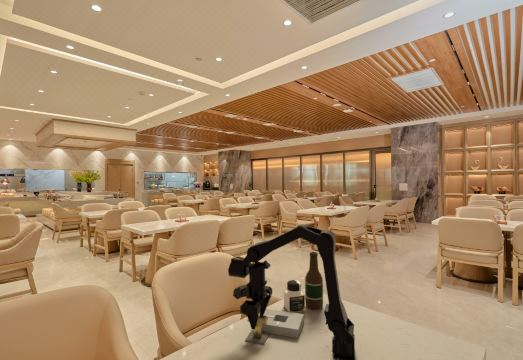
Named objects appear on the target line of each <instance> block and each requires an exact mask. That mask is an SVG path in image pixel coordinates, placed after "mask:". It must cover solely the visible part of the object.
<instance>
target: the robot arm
mask: <svg viewBox="0 0 523 360" xmlns="http://www.w3.org/2000/svg"><path fill="white" fill-rule="evenodd" d="M299 239H302V240H304V241H306V242H308V243H309V244H311V245H315V246H316V248H317V253H318V255H319V256H320V258H321V260H322V265H323V273H324V280H325V286H326V293H327V300H328V303H325V307H324V310H323V315H324V317H325V325H327V328H328V330H329V331H330V332H331V333H332V334H333V336H332V341H331V351H332V354H333V359H336V360H356V348H355V347H356V346H355V340H356V338H355V334H354V333H355V323H353V321H351V319H349V318H348V314H347V311H346V308H345V305H344V303H343V301H342V298H341V291H340V286H339V284H340V283H339V279H338V271H337V264H336V257H335V256H336V243H337V242H336V234H335V232H333V231H332V230H330V229H323V230H322V229H320V228H316V227H314V226H313V227H312V226H310V225H309V226H308V225H306V224H303V223H302V224H298V225H297V226H296V227H294V228H292V229H290V230H287V231H286V232H284V233H281V234H279V235H278V236H276V237H273V238H272V239H269V240H264V241H260V242H257V243H254V244H253V245H251V246H249V247H248V248H247V250H246V255H245V257H244V258H238V257H232V258H231V259H230V263H229V266H228V269H227V272H228V276H229V277H231V278H232V277H234V278H241V279H246V277H247V276H248V278H249V279H248V282H247V283H246V284H243V285H239V286H237V287H234V289H233V292H232V293H233V294H232V297H234V298H235V299H236V300H240V299H241V298H245V299H246V300H245V301H243V302H242V303H241V304H240V306H239V313H240V314H244V315H245V316H246V318H247V320H248V319H249V325H250V328H251V330H253V329H255V327H256V324H257V321H258V318H259V315H262V316H264V313H265V311H266V309H268V305H269V302H270V300H271V298H272V295H273V288H272V286H269V285H268V284H267V283H268V281H267V280H266V270H267V269H269V268H270V267H271V264H270V262H268V261H267V259H265V260H264V261H261V260H262V259H264V258H265V257H267V256H268V255H269V254H271V252H273V251H275V250H277V249H280V248H281V247H283V246H286V245H288V244H290V243H292V242H295V241H296V240H299ZM249 299H250V300H249Z"/></svg>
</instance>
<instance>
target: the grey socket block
mask: <svg viewBox="0 0 523 360" xmlns="http://www.w3.org/2000/svg"><path fill="white" fill-rule="evenodd" d="M264 316H268V322H267V324H266V325H265V324H262V332H268V333H270V334H272V335H273V334H274V335H278V336H284V337H289V338H295V339H298V338H299V337H300V334H301V331H302V329H303V327H304V326H303V325H304V323H305V314H303V313H300V312H295V313H292V312H288V311H284V310H277V309H269V308H266V311H265V313H264Z"/></svg>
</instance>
